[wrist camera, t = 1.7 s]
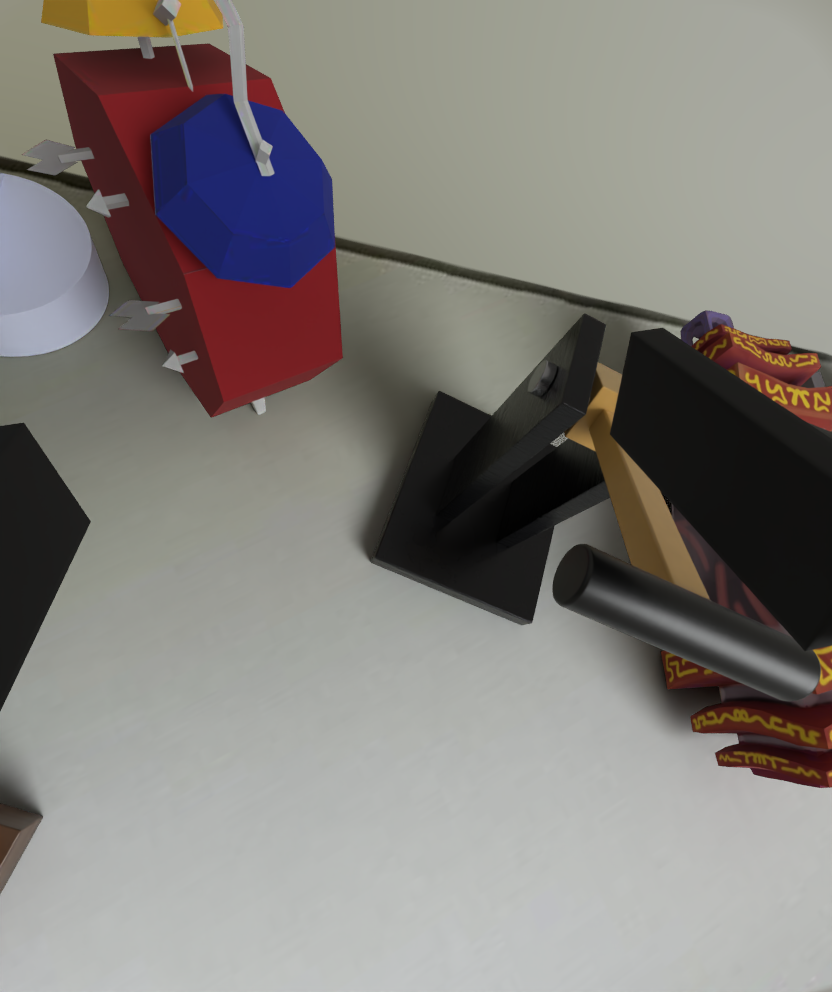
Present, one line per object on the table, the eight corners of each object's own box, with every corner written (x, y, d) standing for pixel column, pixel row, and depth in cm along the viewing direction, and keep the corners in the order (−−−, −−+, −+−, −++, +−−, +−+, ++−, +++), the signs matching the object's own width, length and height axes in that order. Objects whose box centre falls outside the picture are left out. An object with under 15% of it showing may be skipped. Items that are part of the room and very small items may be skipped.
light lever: (763, 723, 12) (856, 671, 10) (541, 630, 11) (610, 560, 9) (636, 445, 22) (674, 401, 21) (519, 387, 21) (550, 337, 20)
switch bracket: (522, 625, 30) (732, 586, 17) (369, 562, 29) (466, 464, 15) (561, 460, 35) (748, 328, 21) (432, 400, 33) (548, 217, 20)
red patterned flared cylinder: (992, 799, 23) (819, 288, 33) (845, 812, 21) (707, 256, 31) (789, 765, 32) (702, 369, 42) (669, 771, 30) (608, 349, 40)
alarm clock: (327, 425, 31) (425, 68, 12) (188, 486, 27) (45, 108, 9) (214, 240, 33) (158, -298, 15) (71, 273, 29) (-239, -383, 11)
